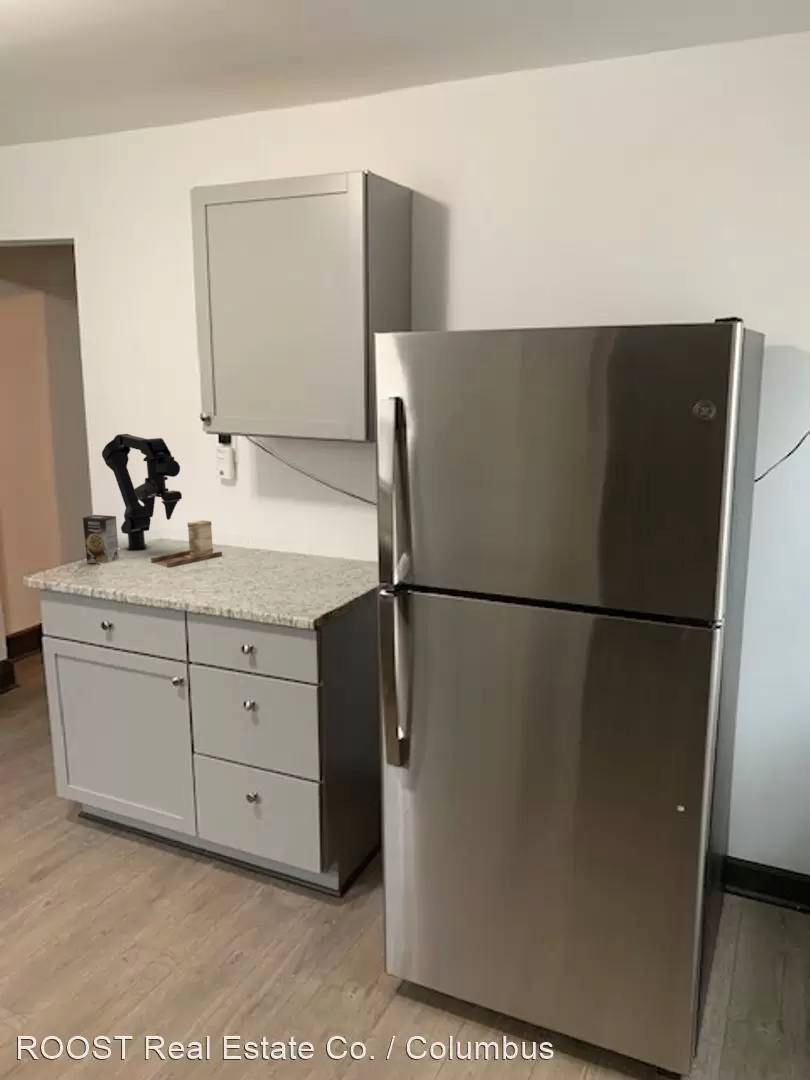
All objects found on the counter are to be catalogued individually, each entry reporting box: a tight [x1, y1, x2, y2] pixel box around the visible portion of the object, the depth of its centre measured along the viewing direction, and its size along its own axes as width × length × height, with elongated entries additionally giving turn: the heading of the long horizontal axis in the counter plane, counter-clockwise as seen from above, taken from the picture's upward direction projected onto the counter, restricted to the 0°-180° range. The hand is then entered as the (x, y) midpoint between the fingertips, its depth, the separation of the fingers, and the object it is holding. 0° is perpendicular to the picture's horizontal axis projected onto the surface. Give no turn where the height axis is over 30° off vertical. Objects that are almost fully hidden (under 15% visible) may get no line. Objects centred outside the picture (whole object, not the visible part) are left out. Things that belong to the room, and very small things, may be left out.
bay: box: [150, 549, 223, 569], centre depth 287 cm, size 21×11×2 cm, turn 137°
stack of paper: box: [186, 519, 214, 557], centre depth 290 cm, size 6×6×12 cm
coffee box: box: [82, 514, 120, 565], centre depth 287 cm, size 9×6×16 cm
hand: (159, 518), depth 297 cm, fingers open, 9 cm apart
